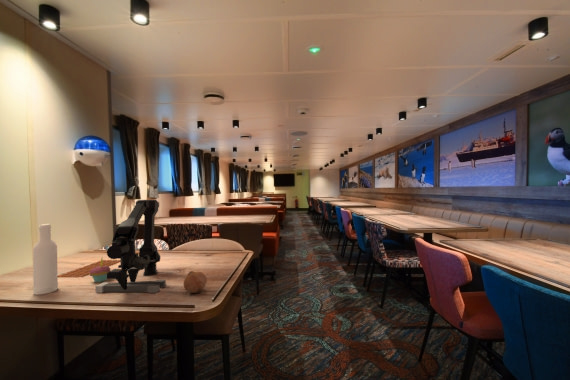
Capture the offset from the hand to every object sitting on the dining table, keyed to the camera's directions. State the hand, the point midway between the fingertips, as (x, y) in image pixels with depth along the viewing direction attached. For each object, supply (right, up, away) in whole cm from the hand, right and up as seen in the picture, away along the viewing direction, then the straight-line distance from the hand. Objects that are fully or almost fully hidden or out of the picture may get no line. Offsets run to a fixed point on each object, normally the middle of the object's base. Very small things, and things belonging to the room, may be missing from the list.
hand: (129, 287), depth 108 cm
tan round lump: (+31, -1, -3) cm, 31 cm away
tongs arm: (+2, -1, +2) cm, 3 cm away
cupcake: (-22, -2, +12) cm, 26 cm away
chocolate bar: (-42, -3, +33) cm, 53 cm away
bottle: (-37, -2, 0) cm, 38 cm away
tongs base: (+1, -1, -1) cm, 2 cm away
